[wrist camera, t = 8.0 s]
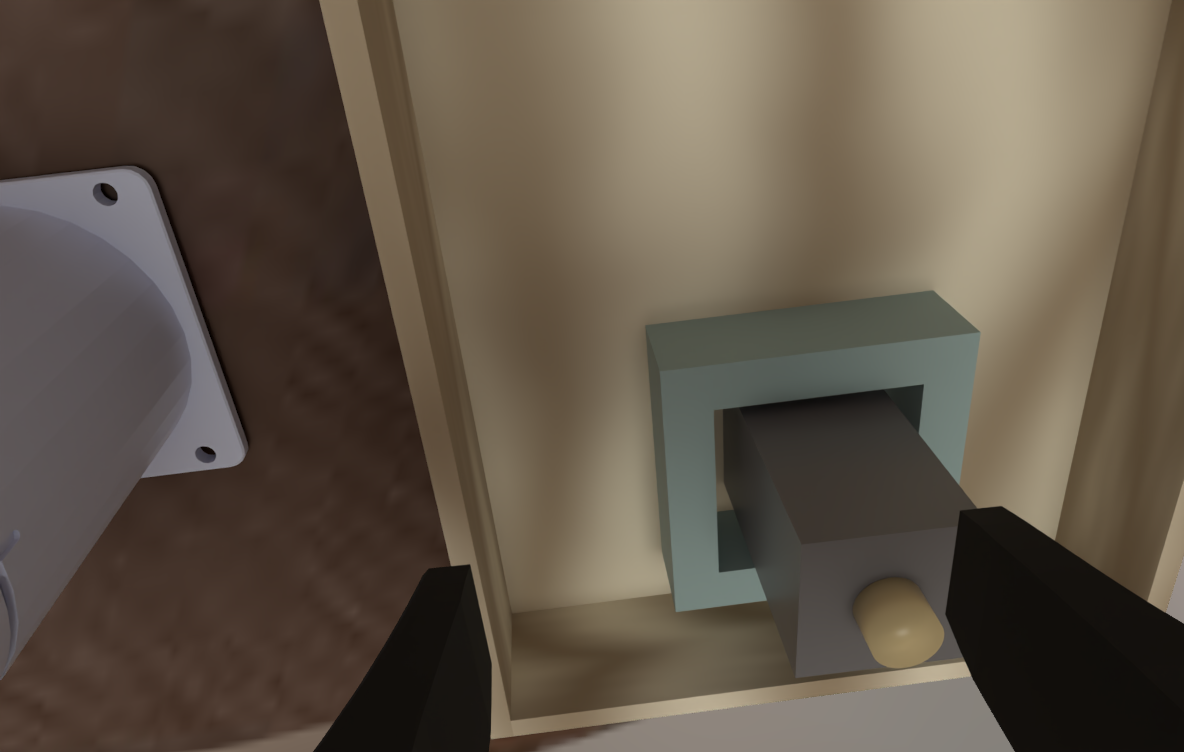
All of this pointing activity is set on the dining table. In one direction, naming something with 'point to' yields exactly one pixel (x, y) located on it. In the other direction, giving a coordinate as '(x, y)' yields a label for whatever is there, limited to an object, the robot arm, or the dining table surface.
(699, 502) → the socket
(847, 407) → the plug
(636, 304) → the walled box
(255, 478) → the dining table surface
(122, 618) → the dining table surface
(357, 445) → the dining table surface
